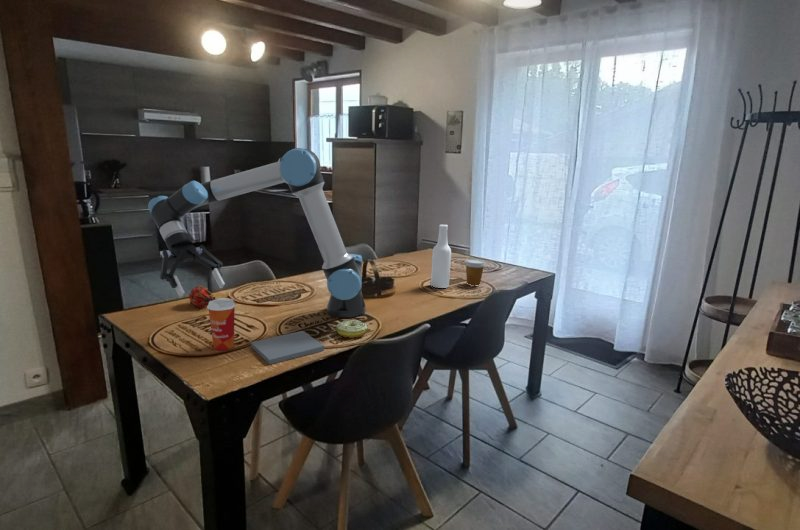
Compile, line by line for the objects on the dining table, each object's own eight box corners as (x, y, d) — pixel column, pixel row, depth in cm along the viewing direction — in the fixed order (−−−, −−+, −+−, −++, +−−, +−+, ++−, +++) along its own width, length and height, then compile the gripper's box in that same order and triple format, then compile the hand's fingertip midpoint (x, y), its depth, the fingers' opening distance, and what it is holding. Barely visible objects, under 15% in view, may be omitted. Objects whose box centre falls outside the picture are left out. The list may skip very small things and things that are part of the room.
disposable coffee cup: (486, 286, 222) (488, 263, 219) (469, 288, 218) (471, 264, 215) (476, 281, 230) (478, 258, 227) (460, 282, 227) (461, 259, 224)
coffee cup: (203, 348, 142) (200, 302, 138) (225, 339, 149) (222, 295, 145) (223, 354, 138) (220, 307, 135) (243, 345, 145) (241, 300, 142)
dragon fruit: (196, 305, 185) (210, 316, 177) (178, 297, 178) (192, 309, 171) (208, 287, 186) (222, 298, 179) (191, 278, 179) (205, 289, 172)
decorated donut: (371, 330, 162) (372, 321, 161) (358, 341, 152) (358, 331, 151) (345, 325, 165) (346, 316, 165) (331, 336, 156) (331, 325, 155)
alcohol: (429, 288, 215) (432, 225, 208) (432, 283, 224) (435, 223, 216) (447, 290, 213) (451, 227, 206) (450, 285, 222) (454, 224, 214)
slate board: (302, 334, 155) (302, 330, 155) (324, 350, 144) (324, 346, 144) (251, 346, 144) (250, 342, 144) (269, 364, 133) (269, 359, 133)
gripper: (207, 239, 163) (233, 288, 158) (133, 249, 144) (160, 305, 138) (215, 227, 158) (241, 277, 153) (139, 235, 139) (167, 292, 134)
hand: (203, 290), depth 146 cm, fingers open, 13 cm apart
